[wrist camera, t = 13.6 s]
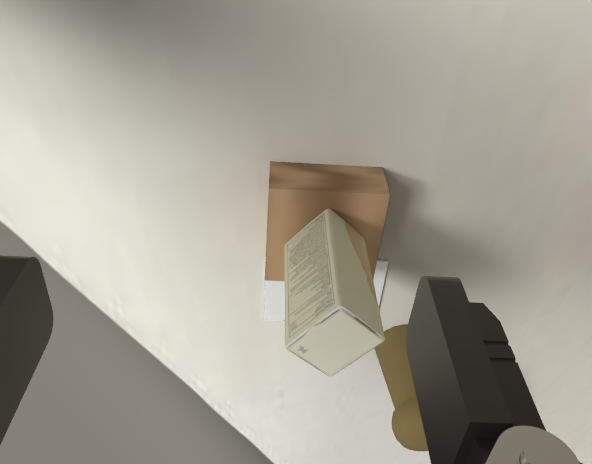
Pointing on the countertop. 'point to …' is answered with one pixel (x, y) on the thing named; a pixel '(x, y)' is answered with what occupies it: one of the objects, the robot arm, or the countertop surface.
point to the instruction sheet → (276, 293)
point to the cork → (401, 389)
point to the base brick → (323, 205)
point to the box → (330, 295)
